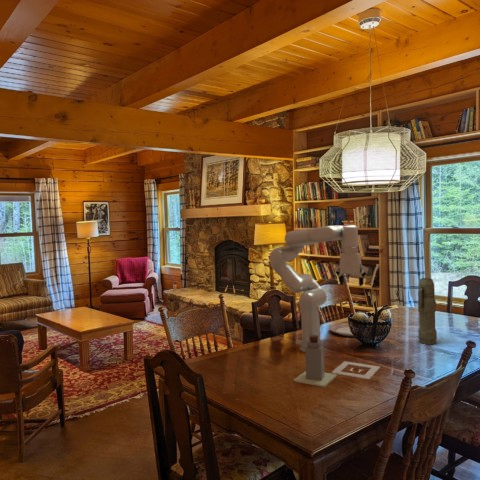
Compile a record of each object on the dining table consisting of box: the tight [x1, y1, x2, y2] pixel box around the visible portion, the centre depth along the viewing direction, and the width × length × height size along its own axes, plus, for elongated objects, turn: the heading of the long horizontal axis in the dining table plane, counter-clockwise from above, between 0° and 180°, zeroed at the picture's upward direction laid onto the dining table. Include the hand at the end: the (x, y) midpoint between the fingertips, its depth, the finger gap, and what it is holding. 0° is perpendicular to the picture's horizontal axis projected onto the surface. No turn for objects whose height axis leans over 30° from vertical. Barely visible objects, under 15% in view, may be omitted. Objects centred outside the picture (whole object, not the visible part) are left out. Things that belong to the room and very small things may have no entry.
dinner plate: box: [328, 322, 354, 337], centre depth 262 cm, size 27×27×3 cm
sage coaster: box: [293, 370, 338, 388], centre depth 190 cm, size 14×14×1 cm
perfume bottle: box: [304, 335, 325, 380], centre depth 189 cm, size 7×7×18 cm
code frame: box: [331, 361, 381, 380], centre depth 198 cm, size 17×17×1 cm
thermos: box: [417, 277, 438, 346], centre depth 234 cm, size 9×12×35 cm
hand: (351, 285), depth 215 cm, fingers open, 9 cm apart
